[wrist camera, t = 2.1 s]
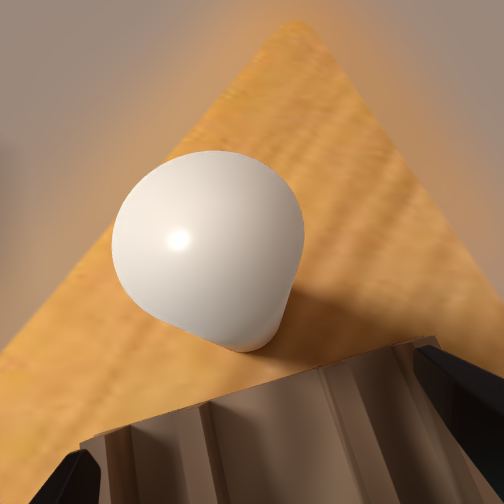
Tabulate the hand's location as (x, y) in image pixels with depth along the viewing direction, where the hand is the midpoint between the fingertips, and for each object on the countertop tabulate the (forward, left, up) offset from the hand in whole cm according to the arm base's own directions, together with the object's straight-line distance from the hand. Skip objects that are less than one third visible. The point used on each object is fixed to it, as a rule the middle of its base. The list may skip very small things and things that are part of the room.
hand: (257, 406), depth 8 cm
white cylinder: (+4, -2, -11) cm, 12 cm away
